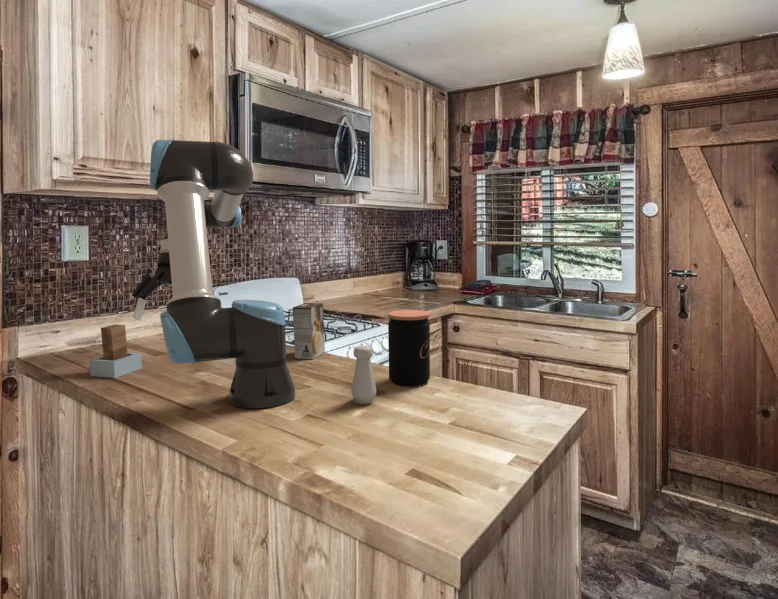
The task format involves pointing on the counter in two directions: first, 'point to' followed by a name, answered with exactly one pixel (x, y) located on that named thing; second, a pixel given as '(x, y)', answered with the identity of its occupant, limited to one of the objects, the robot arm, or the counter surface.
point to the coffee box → (308, 330)
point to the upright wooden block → (114, 342)
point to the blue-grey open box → (115, 366)
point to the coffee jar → (409, 347)
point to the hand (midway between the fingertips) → (155, 318)
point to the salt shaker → (363, 376)
